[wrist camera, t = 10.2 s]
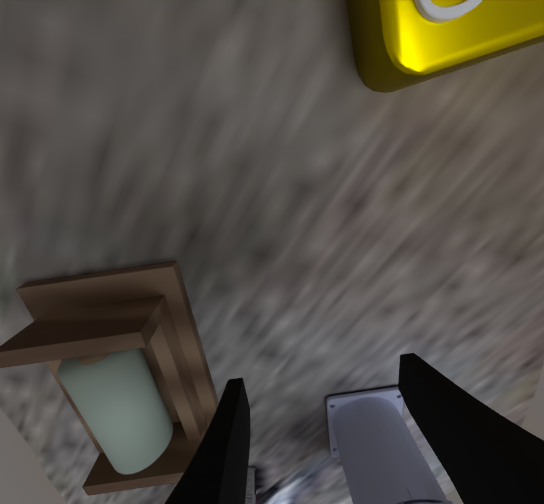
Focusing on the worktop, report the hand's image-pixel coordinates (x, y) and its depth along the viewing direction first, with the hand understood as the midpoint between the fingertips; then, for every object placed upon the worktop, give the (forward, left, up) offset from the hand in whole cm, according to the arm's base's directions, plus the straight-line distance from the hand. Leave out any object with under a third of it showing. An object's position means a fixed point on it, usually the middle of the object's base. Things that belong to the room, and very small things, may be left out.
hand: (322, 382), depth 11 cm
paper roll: (-7, +15, -7) cm, 18 cm away
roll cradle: (-7, +15, -10) cm, 20 cm away
